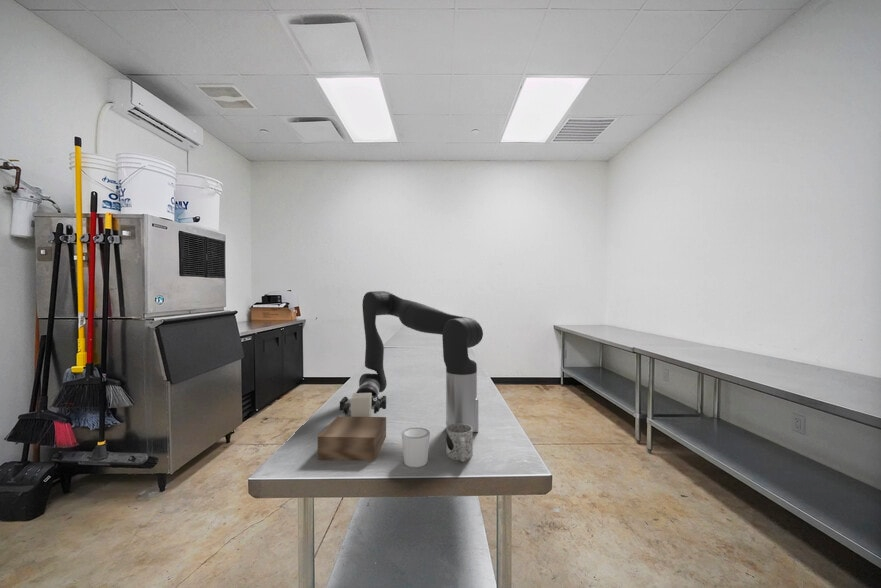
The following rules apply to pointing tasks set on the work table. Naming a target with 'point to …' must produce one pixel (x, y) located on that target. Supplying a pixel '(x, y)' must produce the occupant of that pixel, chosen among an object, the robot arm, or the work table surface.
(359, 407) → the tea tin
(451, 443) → the mug
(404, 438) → the shot glass
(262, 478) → the work table surface
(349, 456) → the walnut block
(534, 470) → the work table surface
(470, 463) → the work table surface
